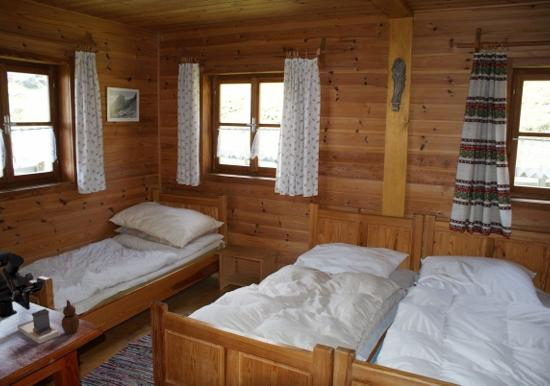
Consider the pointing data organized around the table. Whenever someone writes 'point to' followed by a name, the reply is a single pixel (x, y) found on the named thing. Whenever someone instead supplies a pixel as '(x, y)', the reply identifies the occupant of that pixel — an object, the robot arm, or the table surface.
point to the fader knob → (41, 322)
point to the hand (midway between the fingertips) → (28, 309)
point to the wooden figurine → (70, 319)
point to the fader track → (28, 331)
